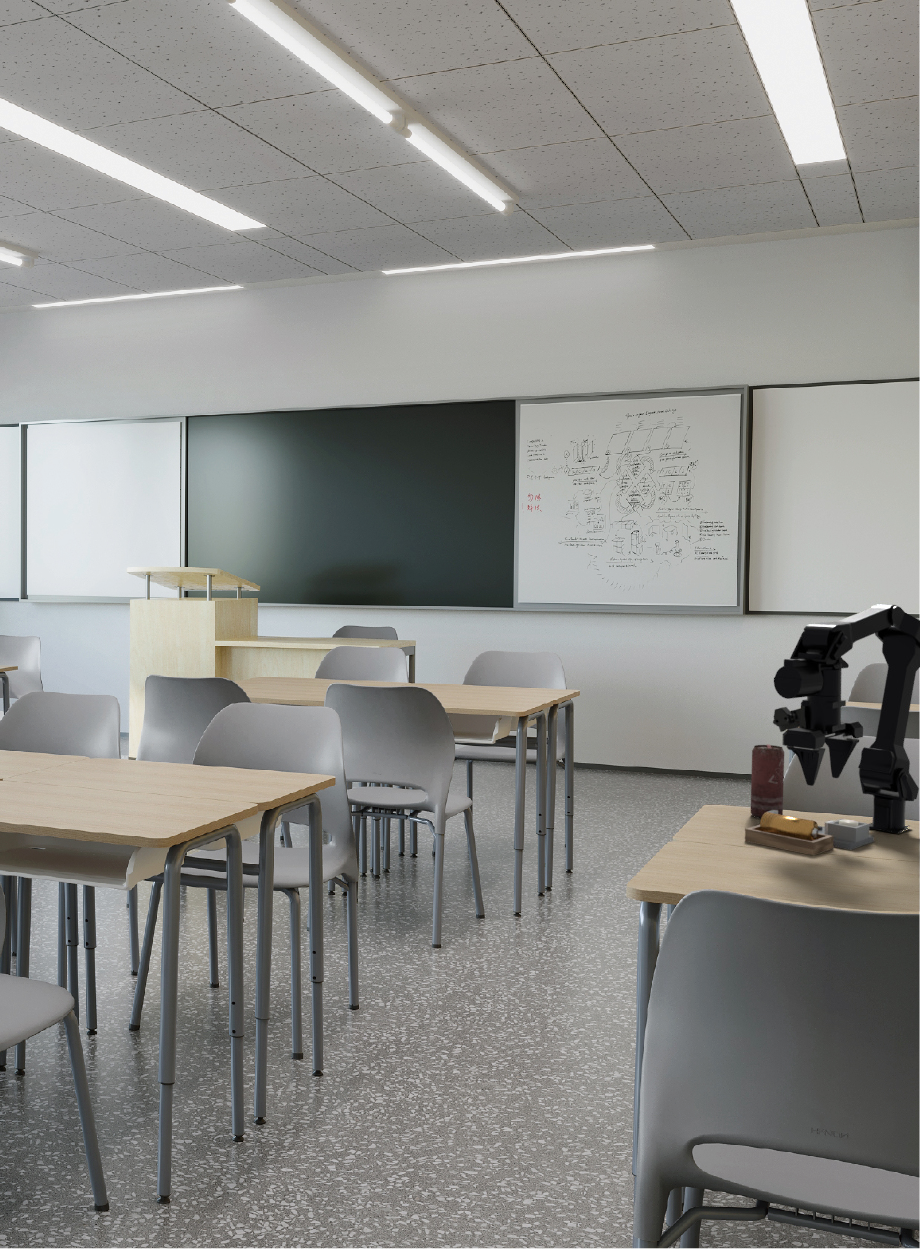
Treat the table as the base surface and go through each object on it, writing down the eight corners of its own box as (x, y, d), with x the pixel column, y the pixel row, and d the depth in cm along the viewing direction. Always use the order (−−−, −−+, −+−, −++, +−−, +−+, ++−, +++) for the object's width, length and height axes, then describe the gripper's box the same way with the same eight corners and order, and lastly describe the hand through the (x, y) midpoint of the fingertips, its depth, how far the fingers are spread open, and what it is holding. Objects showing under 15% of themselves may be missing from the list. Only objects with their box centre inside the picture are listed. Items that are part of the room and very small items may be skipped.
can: (778, 813, 208) (780, 744, 207) (785, 820, 202) (787, 749, 201) (747, 812, 209) (749, 743, 208) (753, 819, 202) (755, 748, 202)
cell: (771, 832, 187) (771, 811, 187) (821, 842, 180) (821, 820, 180) (759, 836, 184) (760, 814, 184) (810, 846, 177) (810, 823, 177)
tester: (781, 824, 198) (782, 806, 198) (873, 841, 185) (874, 822, 185) (757, 831, 192) (757, 812, 192) (850, 850, 179) (851, 830, 179)
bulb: (843, 828, 186) (844, 818, 186) (861, 832, 184) (861, 822, 184) (835, 831, 184) (835, 821, 184) (853, 834, 182) (853, 824, 182)
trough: (765, 834, 189) (766, 823, 189) (833, 848, 180) (833, 836, 180) (745, 841, 184) (745, 829, 184) (813, 855, 175) (813, 842, 175)
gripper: (807, 686, 195) (807, 768, 196) (755, 695, 182) (754, 782, 183) (865, 691, 187) (863, 776, 188) (814, 700, 174) (813, 792, 175)
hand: (823, 781), depth 184 cm, fingers open, 9 cm apart
